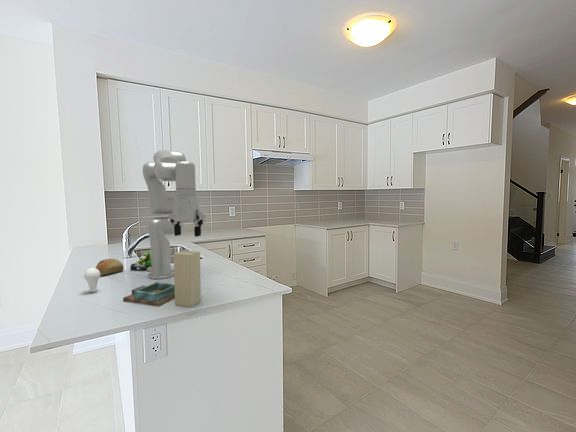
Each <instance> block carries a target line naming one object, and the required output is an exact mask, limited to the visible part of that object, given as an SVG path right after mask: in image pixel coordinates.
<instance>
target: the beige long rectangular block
mask: <svg viewBox="0 0 576 432" xmlns="http://www.w3.org/2000/svg"><path fill="white" fill-rule="evenodd" d="M173 272H174V275H173V278H174V279H173V281H174V282H173V284H174V289H175V298H174V305H176V306H180V307H181V306H182V307H189V308H192V307H193V306H195V305H197V304H199V303H200V302H201V301H202V298H201V297H202V295H201V294H202V293H201V291H202V288H201V251H199V250H197V251H196V250H188V249H187V250H185V249H183V250H180V251H177V252H174V253H173Z"/></svg>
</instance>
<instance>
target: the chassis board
mask: <svg viewBox="0 0 576 432" xmlns="http://www.w3.org/2000/svg"><path fill="white" fill-rule="evenodd" d="M122 299H123V300H122V301H123V302H125V303H126V302H127V303H133V304H139V305H146V306H147V305H148V306H154V307H161V306H163V305H164V304H166V303H168V302H170V301H171V300H175V289H174V283H168V282H161V281H160V282H159V281H156V282H153V283H150V284H149V285H140V286H139V287H136V288H134V289H131V294H129V295H126V296H124V297H122Z"/></svg>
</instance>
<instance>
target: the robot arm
mask: <svg viewBox="0 0 576 432" xmlns="http://www.w3.org/2000/svg"><path fill="white" fill-rule="evenodd" d="M152 158H153V161H151V162H150V161H149V162H146V163H144V164H143V166H142V177H143V179H144V181H145V183H146V187H147V191H148V206H149V211H150V213H152V214H153V215H168V216H155V217H152V218H150V219H148V221H147V224H146V225H147V231H148V235H149V245H150V247H149V249H150V251H151V252H150V253H151V267H148V269H146V272H149V274H148V278H149V279H152V280H163V279H167V278H170V277H174V270H172V265H171V243H170V240H169V239H168V238H167V237H166V235H174V236H175V237H177V236H181V235H182V232H183V230H184V229H183V228H184V223H193V225H194V228H193V230H194V234H193V235H194V237H195V238H197V237H200V236H202V226H203V224H204V223H205V221H206V218H207V215H206V214H205V213H203V212H202V211H200V204H199V199H198V198H199V197H198V196H197V187H196V186H197V185H196V164H195V163H194V162H191V161H187V158H186V155H185V154H184V153H183V152H181V151H178V150H167V149H166V150H165V149H163V150H157V151H156V152H155V153H154V155H153V157H152ZM162 181H163V182H175V190H174V195H175V196H174V195H173V196H171V195H168V196H167V188H166V185H165V184H164V183H163V182H162Z"/></svg>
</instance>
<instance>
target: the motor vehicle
mask: <svg viewBox="0 0 576 432" xmlns="http://www.w3.org/2000/svg"><path fill="white" fill-rule="evenodd" d="M144 255H146V256H145V258H143V257H144ZM148 267H151V250H150V251H146V252H144V253H143V254H142V256H141V257H140V259H138V261H136V262H134V263H131V264H130V267H129V268H130V271H132V270H133V271H137V269H140V268H141V269H146V270H147V269H148Z"/></svg>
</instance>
